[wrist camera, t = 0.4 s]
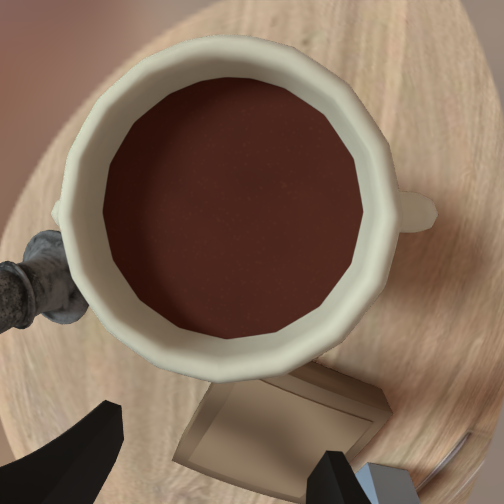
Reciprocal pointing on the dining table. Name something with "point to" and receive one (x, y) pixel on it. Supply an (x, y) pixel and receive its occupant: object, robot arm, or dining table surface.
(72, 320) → the salt shaker
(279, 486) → the walnut plinth
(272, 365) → the character mug
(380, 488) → the blue block
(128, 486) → the dining table surface
